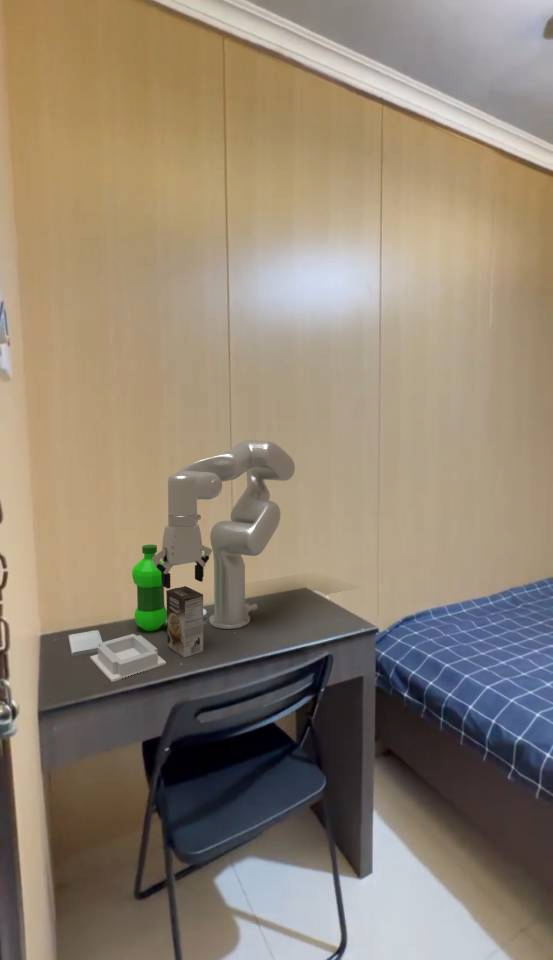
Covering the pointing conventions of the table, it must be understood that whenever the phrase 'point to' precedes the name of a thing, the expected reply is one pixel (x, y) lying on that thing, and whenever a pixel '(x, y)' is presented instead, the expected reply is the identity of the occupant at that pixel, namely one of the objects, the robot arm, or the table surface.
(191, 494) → the robot arm
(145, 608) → the plastic bottle
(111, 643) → the tray
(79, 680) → the table surface
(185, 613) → the coffee box
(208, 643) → the table surface
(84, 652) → the hard drive
